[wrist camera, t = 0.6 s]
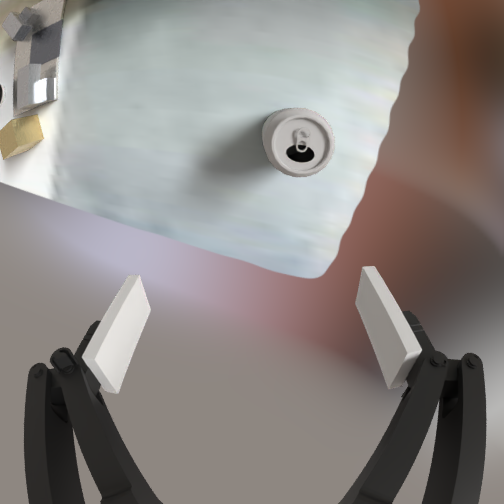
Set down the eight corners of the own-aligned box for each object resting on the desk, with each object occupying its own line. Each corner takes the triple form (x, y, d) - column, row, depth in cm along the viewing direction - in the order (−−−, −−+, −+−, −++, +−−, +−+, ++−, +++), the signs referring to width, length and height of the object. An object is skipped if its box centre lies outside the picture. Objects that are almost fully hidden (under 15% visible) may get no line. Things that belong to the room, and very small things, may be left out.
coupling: (22, 127, 32) (-4, 134, 26) (37, 114, 32) (11, 119, 26) (28, 150, 35) (3, 159, 29) (44, 138, 34) (18, 146, 28)
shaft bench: (20, 15, 20) (1, 12, 15) (70, -13, 20) (52, -21, 15) (13, 117, 31) (-9, 122, 26) (60, 98, 31) (37, 100, 26)
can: (258, 156, 37) (260, 176, 27) (264, 105, 34) (268, 102, 23) (310, 163, 38) (332, 186, 27) (318, 113, 34) (345, 115, 23)
